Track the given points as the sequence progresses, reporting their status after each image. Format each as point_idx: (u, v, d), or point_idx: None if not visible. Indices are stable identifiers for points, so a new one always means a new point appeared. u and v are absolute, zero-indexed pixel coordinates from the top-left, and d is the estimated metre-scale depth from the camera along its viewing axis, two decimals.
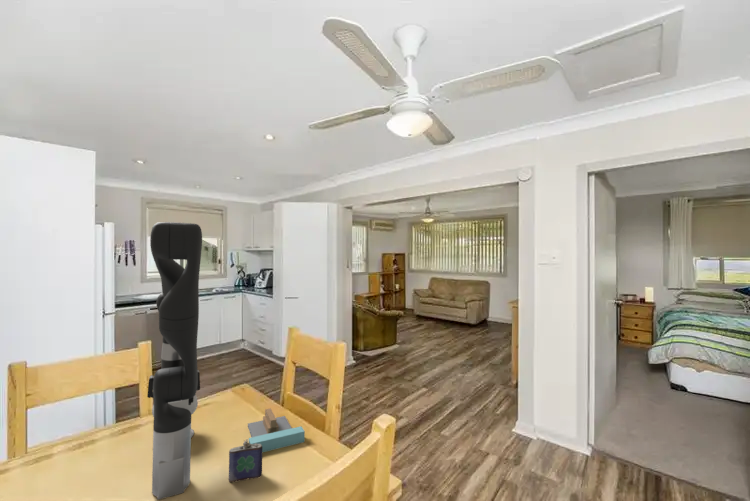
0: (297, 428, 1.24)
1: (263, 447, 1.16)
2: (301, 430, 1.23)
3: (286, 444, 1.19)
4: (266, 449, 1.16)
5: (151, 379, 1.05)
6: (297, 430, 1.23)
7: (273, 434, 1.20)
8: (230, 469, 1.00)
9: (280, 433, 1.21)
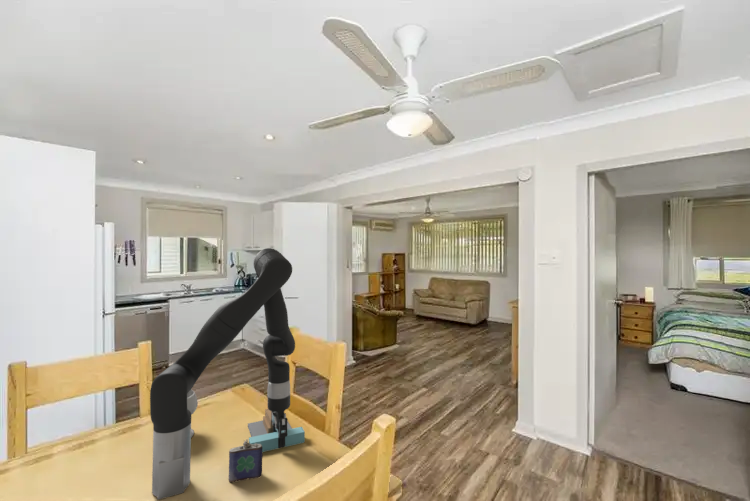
0: (297, 428, 1.24)
1: (263, 446, 1.16)
2: (301, 430, 1.23)
3: (286, 444, 1.19)
4: (266, 449, 1.16)
5: None
6: (297, 430, 1.23)
7: (273, 434, 1.20)
8: (230, 469, 1.00)
9: None
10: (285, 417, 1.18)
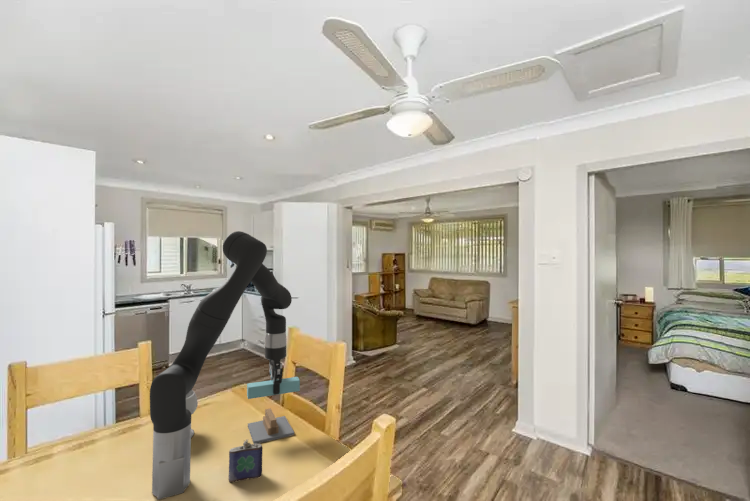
0: (293, 378, 1.31)
1: (260, 391, 1.23)
2: (297, 379, 1.30)
3: (282, 391, 1.26)
4: (263, 394, 1.24)
5: (282, 369, 1.22)
6: (293, 379, 1.30)
7: (270, 381, 1.27)
8: (230, 469, 1.00)
9: None
10: (281, 367, 1.26)
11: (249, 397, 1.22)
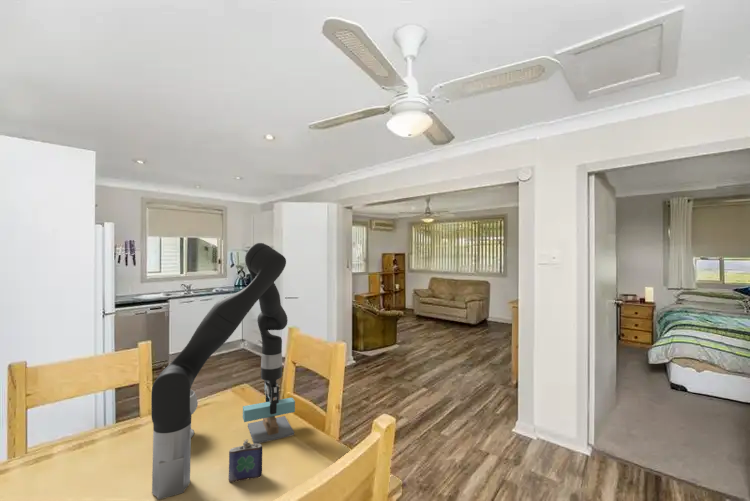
0: (288, 399, 1.33)
1: (256, 414, 1.25)
2: (292, 400, 1.32)
3: (277, 412, 1.29)
4: (259, 416, 1.26)
5: None
6: (288, 400, 1.32)
7: (265, 403, 1.29)
8: (230, 469, 1.00)
9: None
10: (277, 386, 1.28)
11: (245, 420, 1.23)
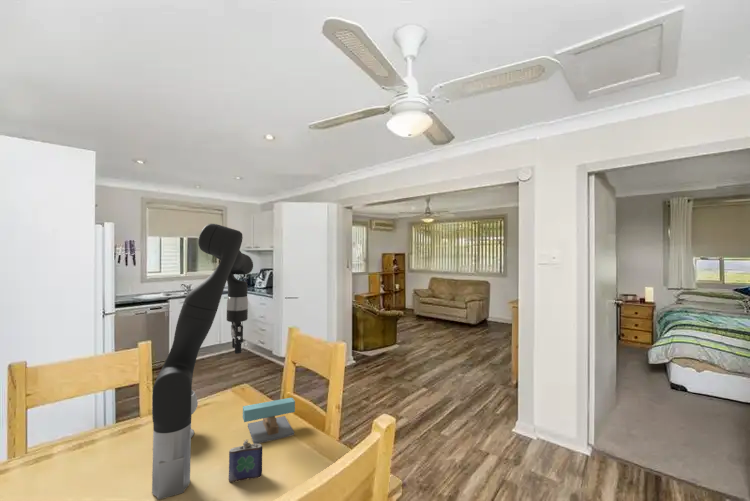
0: (288, 399, 1.33)
1: (256, 414, 1.25)
2: (292, 400, 1.32)
3: (277, 412, 1.29)
4: (259, 416, 1.26)
5: (242, 327, 1.29)
6: (288, 400, 1.32)
7: (265, 403, 1.29)
8: (230, 469, 1.00)
9: (272, 402, 1.30)
10: None
11: (245, 420, 1.23)
